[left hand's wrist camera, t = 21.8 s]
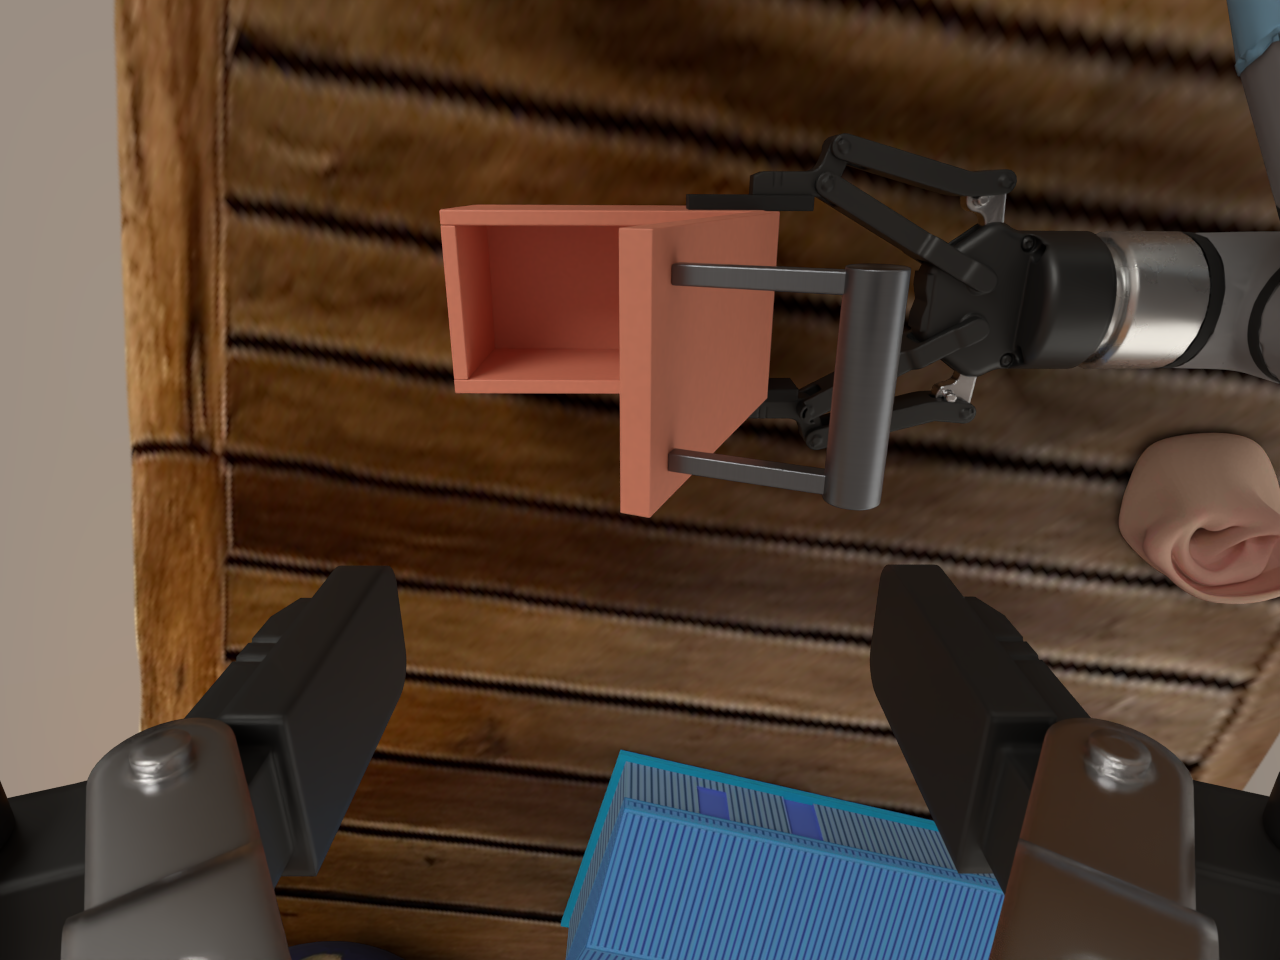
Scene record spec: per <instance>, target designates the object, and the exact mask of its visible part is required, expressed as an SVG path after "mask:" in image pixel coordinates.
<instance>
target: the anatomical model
mask: <svg viewBox="0 0 1280 960" xmlns="http://www.w3.org/2000/svg"><path fill="white" fill-rule="evenodd" d="M1119 529H1120V532H1121V534H1122V536H1123V537H1124V539H1125V540H1126V542H1127V543H1128V544H1129V545H1130V546H1131V547H1132V548H1133V549H1134V550H1135V551H1136V552H1137V553H1138V554H1139V555H1140V556H1141V557H1142V558H1143V559H1144V560H1145V561H1146V562H1147V563H1148V564H1150V565H1151V566H1152V567H1153V568H1155V569H1156V570H1157V571H1159V572H1161V573H1163V574H1164V575H1166V576H1167V577H1168V578H1169V579H1170V580H1171V581H1172V582H1173V583H1175V584H1176V585H1177V586H1178V587H1180V588H1181V589H1182V590H1184V591H1185V592H1187V593H1189V594H1191V595H1192V596H1195V597H1197V598H1199V599H1203V600H1206V601H1210V602H1216V603H1226V604H1245V603H1254V602H1260V601H1265V600H1269V599H1272V598H1276V597H1279V596H1280V487H1279V484H1278V481H1277V477H1276V474H1275V472H1274V469H1273V466H1272V464H1271V462H1270V460H1269V457H1268V456H1267V454H1266V453H1265V451H1264V450H1263V448H1262V447H1261V446H1260V445H1259V444H1257V443H1256V442H1255V441H1253V440H1251V439H1249V438H1246V437H1244V436H1240V435H1235V434H1228V433H1197V434H1188V435H1180V436H1175V437H1170V438H1166V439H1163V440H1160V441H1158V442H1155V443H1154V444H1152V445H1151V446H1149V447H1148V448H1147V449H1146V450H1145V451H1144V452H1143V453H1142V455H1141V456H1140V458H1139V459H1138V461H1137V463H1136V465H1135V467H1134V469H1133V472H1132V474H1131V477H1130V479H1129V482H1128V485H1127V487H1126V490H1125V493H1124V496H1123V500H1122V505H1121V509H1120V514H1119Z"/></svg>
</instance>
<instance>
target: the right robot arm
mask: <svg viewBox="0 0 1280 960" xmlns="http://www.w3.org/2000/svg"><path fill="white" fill-rule="evenodd" d="M1227 5H1228V12H1229V18H1230V25H1231V32H1232V38H1233V45H1234V51H1235V58H1236V64H1235V69H1236V72H1237V75H1238V76H1241V80H1242V84H1243V87H1244V91H1245V95H1246V98H1247V102H1248V105H1249V109H1250V113H1251V116H1252V120H1253V124H1254V127H1255V131H1256V134H1257V138H1258V142H1259V145H1260V149H1261V153H1262V156H1263V160H1264V164H1265V167H1266V171H1267V174H1268V178H1269V182H1270V185H1271V189H1272V193H1273V196H1274V200H1275V203H1276V208H1277V212H1278V216H1279V220H1280V0H1227ZM846 165H847V166H850V167H854V168H857V169H860V170H864V171H867V172H870V173H873V174H877V175H880V176H883V177H887V178H890V179H893V180H896V181H900V182H903V183H906V184H910V185H913V186H916V187H919V188H923V189H926V190H929V191H933V192H936V193H940V194H944V195H951V196H960V204H961V207H962V208H963V209H964V210H966V211H970V212H973V213H975V214H976V216H977V218H978V224H976V225H974V226H973V227H972V228H970V229H969V230H967V231H966V232H964V233H963V234H961V235H960V236H958V237H957V238H955V239H954V240H952V241H951V242H949V243H947V242H945V241H943V240H942V239H940V238H938V237H936V236H934V235H932V234H930V233H928V232H927V231H925V230H923V229H922V228H920V227H919V226H917V225H916V224H914V223H912V222H911V221H909V220H908V219H906V218H904V217H903V216H901V215H900V214H898V213H897V212H895V211H893V210H892V209H890V208H889V207H887V206H885V205H884V204H882V203H881V202H879V201H878V200H876V199H874V198H873V197H871V196H870V195H868V194H866V193H865V192H863V191H862V190H860V189H859V188H857V187H855V186H854V185H852V184H851V183H849V182H847V181H846V180H844V179H843V178H841V176H842V174H843V171H844V169H845V167H846ZM1016 182H1017V178H1016V175H1015V173H1014V172H1013V171H1011V170H1006V169H1005V170H983V171H967V170H964V169H961V168H958V167H954V166H951V165H948V164H945V163H941V162H938V161H935V160H932V159H929V158H925V157H922V156H919V155H916V154H912V153H909V152H906V151H903V150H899V149H896V148H893V147H890V146H886V145H883V144H880V143H877V142H873V141H870V140H867V139H864V138H860V137H857V136H854V135H851V134H845V133H844V134H840V135H835V136H832V137H829V138H827V139H826V140H825V141H824V143H823V145H822V152H821V154H820V157H819V159H818V161H817V163H816V165H815V166H814V167H813V168H812V169H811V170H809V171H806V172H781V171H763V172H758V173H755V174H753V175H751V176H750V187H749V195H731V194H686V209H688V210H764V211H813V209H814V197H817V198H818V199H820V200H821V201H823V202H825V203H826V204H828V205H829V206H831V207H833V208H834V209H836V210H837V211H839V212H841V213H842V214H844V215H846V216H847V217H849V218H850V219H852V220H854V221H855V222H857V223H858V224H860V225H862V226H863V227H865V228H866V229H868V230H870V231H871V232H873V233H874V234H876V235H878V236H879V237H881V238H883V239H884V240H886V241H887V242H889V243H891V244H892V245H894V246H895V247H897V248H899V249H900V250H902V251H903V252H904V253H905V254H907V255H908V256H910V257H911V258H913V259H915V260H916V261H918V262H920V263H921V264H922V265H921V267H920V269H919V271H915V277H914V292H915V300H914V303H913V305H912V308H911V310H910V314H909V322H908V326H910V327H911V330H909V331H907V332H905V333H903V334H902V342H901V350H900V357H899V365H898V372H897V377H898V376H900V375H902V374H904V373H906V372H908V371H910V370H914V369H920V368H923V367H925V366H927V365H929V364H931V363H933V362H935V361H937V360H939V359H941V360H942V361H943V362H944V363H946V364H947V365H948V366H949V367H950V368H952V369H953V370H954V373H953V375H952V377H951V378H949V379H948V380H946V381H941V382H938V383H936V384H934V385H933V387H932V390H931V391H917V392H912V393H907V394H903V395H899V396H895V397H894V402H893V410H892V418H891V425H890V432H892V431H896V430H900V429H904V428H908V427H912V426H916V425H920V424H924V423H928V422H932V421H942V422H953V423H968V422H970V421H972V420H973V419H974V417H975V415H976V409H975V407H974V406H973V405H972V404H970V401H971V397H972V393H973V389H974V385H975V381H976V378H977V377H978V376H981V375H983V374H985V373H987V372H989V371H991V370H995V369H1000V368H1021V369H1068V368H1073V367H1076V366H1079V367H1081V368H1083V369H1118V368H1199V369H1225V370H1233V371H1239V372H1244V373H1247V374H1250V375H1253V376H1257V377H1260V378H1263V379H1266V380H1269V381H1272V382H1275V383H1279V384H1280V232H1221V233H1191V232H1167V231H1106V232H1100V233H1097V234H1094V233H1092V232H1088V231H1017V230H1015V229H1013V228H1011V227H1010V226H1008V225H1007V224H1005V223H1004V212H1005V201H1006V194H1007V193H1009V192H1011V191H1012V190H1013V189H1014V187H1015V186H1016ZM834 374H835V372H833V373H831V374H829V375H827V376H825V377H823V378H821V379H819V380H817V381H815V382H813V383H811V384H809V385H807V386H805V387H803V388H801V389H799V390H798V388H797V387H796V386H795V384H794V383H793V382H792V380H791V379H790V378H769V379H768V393H767V399H766V400H765V401H764V402H763V403H762V404H761V405H760V406H759V407H758V408H757V409H756V410H755V411H754V412H753V413H752V414H751V415H750V416H749V417H748V418H790V419H794V420H796V421H797V425H798V431H799V433H800V435H801V436H802V438H803V440H804V441H805V443H806V444H807V446H808V447H809V448H810V449H813V450H819V449H823V448H827V443H828V433H829V423H830V413H828V414H825V413H827V412H829V411H831V403H832V394H833V384H834ZM823 414H824V415H823Z"/></svg>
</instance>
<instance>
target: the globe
mask: <svg viewBox="0 0 1280 960" xmlns="http://www.w3.org/2000/svg"><path fill="white" fill-rule="evenodd" d="M288 948H289V952H290V956H291V960H405V959H403V958H401V957H399V956H397V955H395V954H393V953H391V952H388V951H386V950H383V949H380V948H377V947H373V946H369V945H365V944H360V943H354V942H344V941H325V942H313V943H306V944H300V945H295V946H291V947H288Z"/></svg>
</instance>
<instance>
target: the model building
mask: <svg viewBox="0 0 1280 960" xmlns="http://www.w3.org/2000/svg"><path fill="white" fill-rule="evenodd" d="M1004 896H1005V895H1004V893H1003V891H1002V890H1001V888H1000V886H999V884H998V882H997V880H996V878H995V876H994V874H958V872H957V870H956V868H955V865H954V863H953V861H952V859H951V857H950V854H949V852H948V850H947V848H946V846H945V844H944V841H943V839H942V837H941V835H940V833H939V831H938V828H937V826H936V824H935V822H934V821H933V820H928V819H924V818H919V817H915V816H910V815H906V814H902V813H897V812H893V811H888V810H884V809H880V808H875V807H871V806H866V805H862V804H858V803H853V802H849V801H844V800H840V799H836V798H831V797H827V796H822V795H818V794H814V793H809V792H805V791H800V790H796V789H792V788H787V787H783V786H778V785H774V784H770V783H765V782H761V781H756V780H752V779H748V778H743V777H739V776H734V775H730V774H726V773H721V772H717V771H712V770H708V769H704V768H699V767H695V766H690V765H686V764H682V763H677V762H673V761H668V760H664V759H660V758H655V757H651V756H646V755H642V754H638V753H633V752H629V751H624V750H620V753H619V756H618V759H617V762H616V765H615V767H614V770H613V773H612V776H611V779H610V782H609V785H608V788H607V791H606V793H605V796H604V799H603V802H602V805H601V808H600V811H599V814H598V817H597V819H596V822H595V825H594V828H593V831H592V834H591V837H590V840H589V843H588V845H587V848H586V851H585V854H584V857H583V860H582V863H581V866H580V869H579V871H578V874H577V877H576V880H575V883H574V886H573V889H572V892H571V894H570V897H569V900H568V903H567V906H566V909H565V912H564V915H563V918H562V920H561V926H563V927H568V928H569V932H568V942H567V953H566V960H989V956H990V952H991V948H992V944H993V940H994V936H995V932H996V928H997V924H998V920H999V916H1000V912H1001V908H1002V904H1003V900H1004Z"/></svg>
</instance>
